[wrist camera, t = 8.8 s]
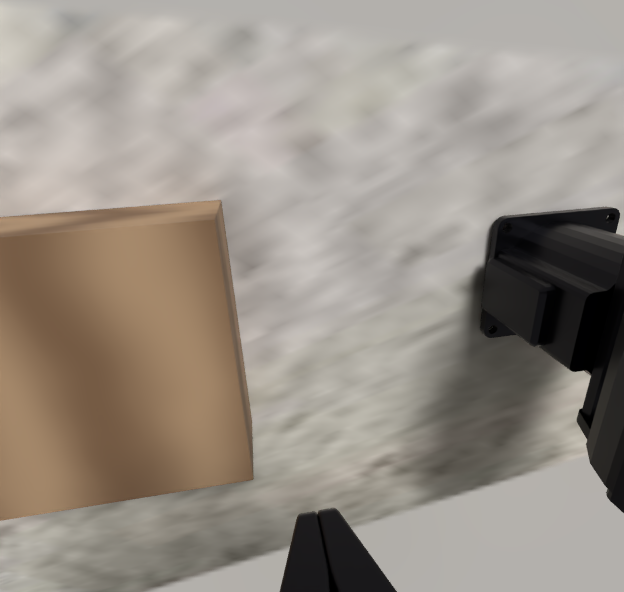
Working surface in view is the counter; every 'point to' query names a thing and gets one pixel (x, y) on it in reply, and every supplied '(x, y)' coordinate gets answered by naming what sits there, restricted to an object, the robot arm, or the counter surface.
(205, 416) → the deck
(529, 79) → the counter surface
